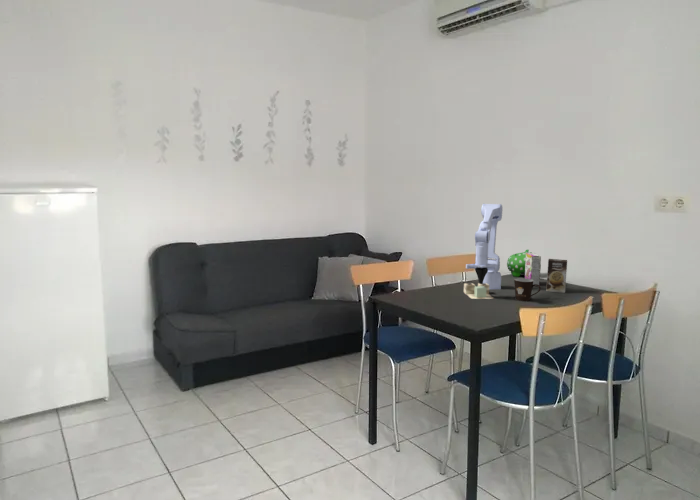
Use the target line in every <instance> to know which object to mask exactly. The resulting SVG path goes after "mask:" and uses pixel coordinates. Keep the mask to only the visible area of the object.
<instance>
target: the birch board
mask: <svg viewBox="0 0 700 500" xmlns="http://www.w3.org/2000/svg"><path fill="white" fill-rule="evenodd" d="M466 296H468V298H470V299H472V300H475V299H476V300H482V299H483V300H484V299H486V300H490V299H495V298H494V297H493V296H492V295H490V293H489V294H486V297H476V296H475V295H474V294H466Z"/></svg>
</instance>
